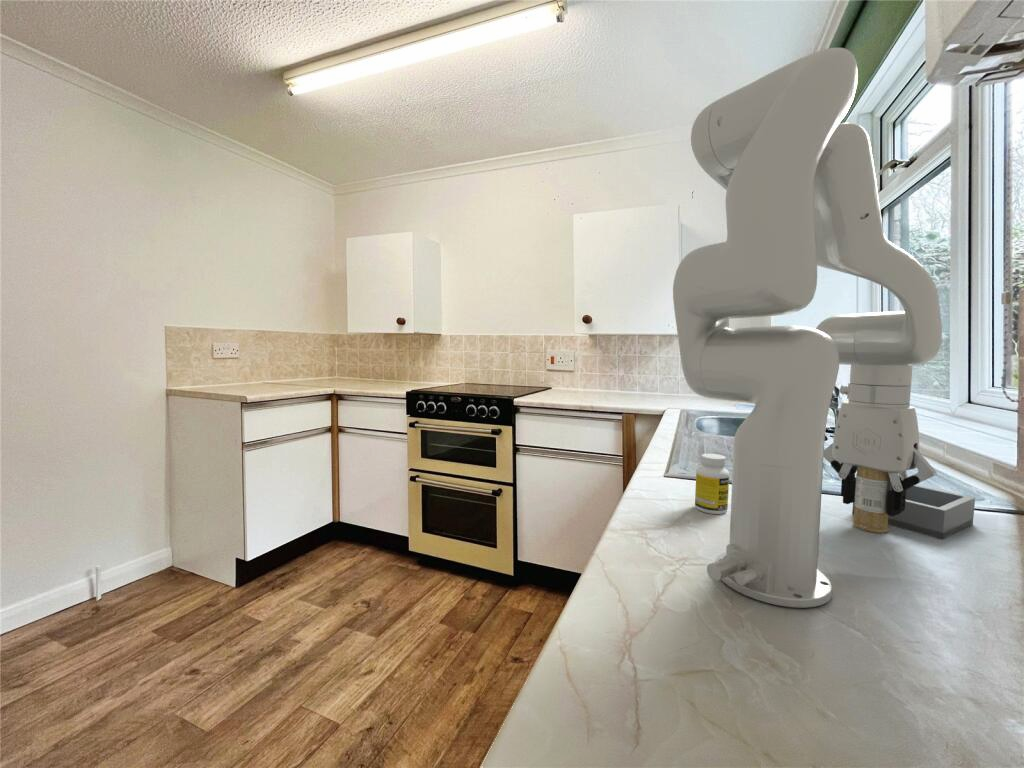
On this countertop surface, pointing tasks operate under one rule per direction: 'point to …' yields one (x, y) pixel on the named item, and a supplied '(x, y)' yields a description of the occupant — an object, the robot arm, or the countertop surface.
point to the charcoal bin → (933, 512)
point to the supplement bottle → (712, 484)
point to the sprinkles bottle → (871, 500)
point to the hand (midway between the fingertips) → (871, 507)
